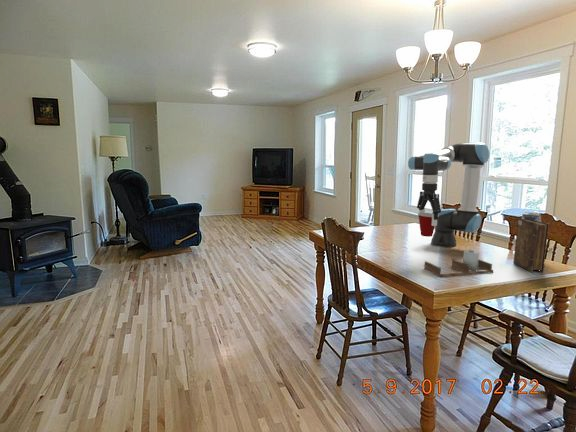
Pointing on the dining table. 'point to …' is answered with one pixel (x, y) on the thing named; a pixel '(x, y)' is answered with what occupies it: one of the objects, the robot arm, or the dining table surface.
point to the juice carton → (532, 216)
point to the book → (531, 244)
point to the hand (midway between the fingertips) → (427, 223)
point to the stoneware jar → (471, 259)
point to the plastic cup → (426, 224)
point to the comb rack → (459, 268)
